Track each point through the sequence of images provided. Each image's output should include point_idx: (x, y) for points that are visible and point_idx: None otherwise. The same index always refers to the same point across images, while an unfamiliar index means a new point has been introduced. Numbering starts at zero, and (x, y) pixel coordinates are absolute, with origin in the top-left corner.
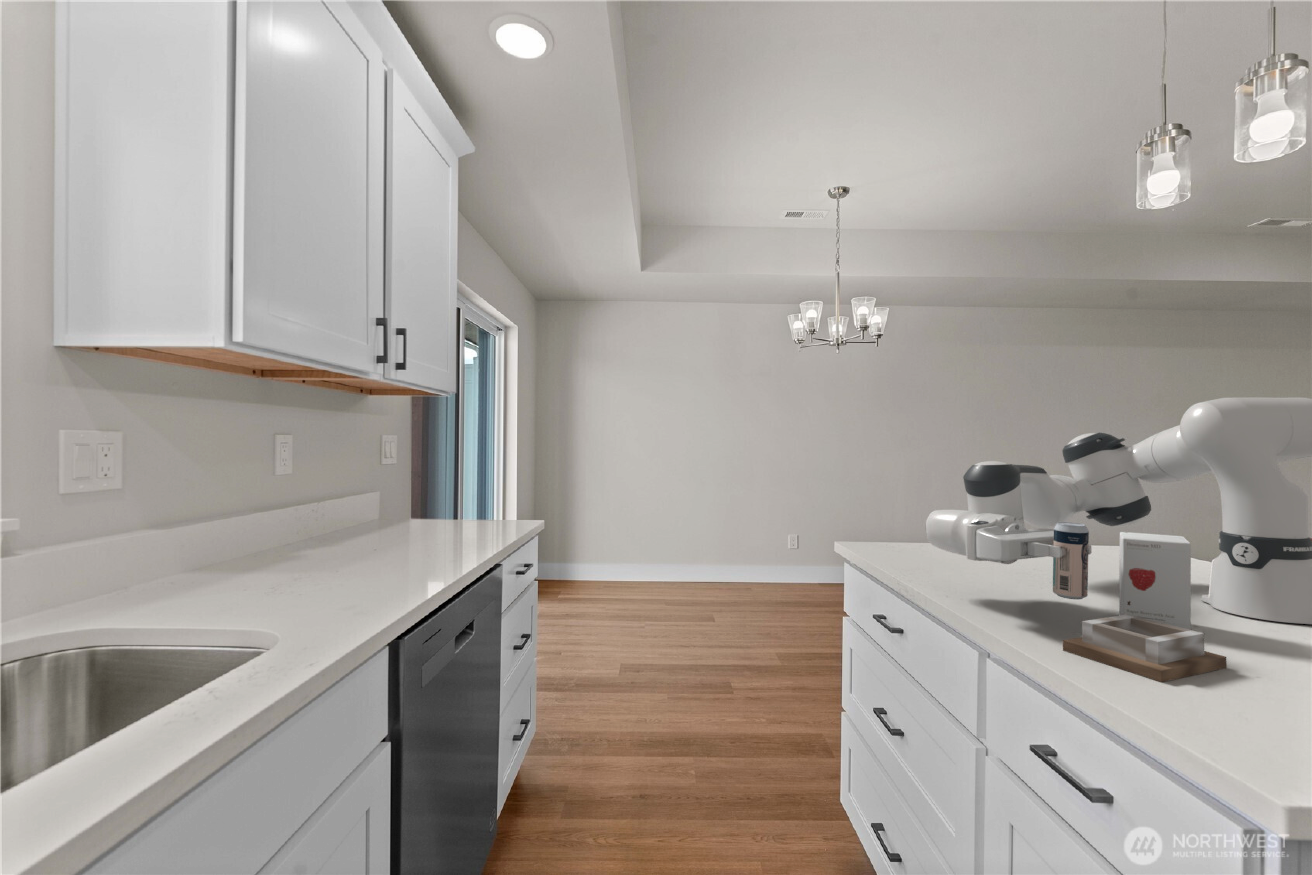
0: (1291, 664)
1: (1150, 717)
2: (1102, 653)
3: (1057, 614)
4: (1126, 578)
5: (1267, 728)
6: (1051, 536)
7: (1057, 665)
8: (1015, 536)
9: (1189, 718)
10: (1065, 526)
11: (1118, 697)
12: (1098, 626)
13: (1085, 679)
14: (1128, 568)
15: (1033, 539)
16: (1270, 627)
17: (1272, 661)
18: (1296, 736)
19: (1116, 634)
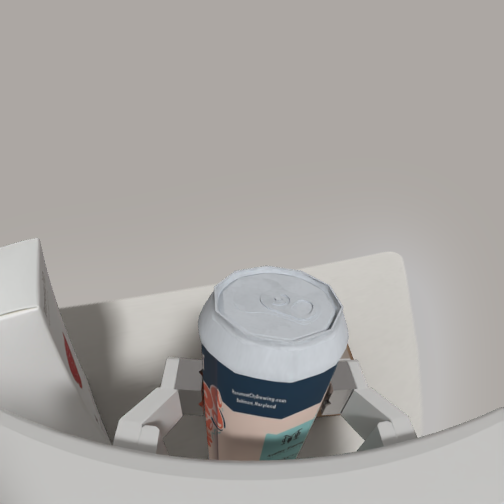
0: (136, 301)
1: (399, 295)
2: (353, 359)
3: None
4: (78, 389)
5: (335, 271)
6: (245, 463)
7: (407, 374)
8: (462, 468)
9: (374, 288)
10: (335, 297)
11: (399, 315)
12: (347, 352)
13: (402, 343)
14: (69, 367)
15: (393, 444)
16: None
17: (140, 310)
18: (328, 264)
19: None
